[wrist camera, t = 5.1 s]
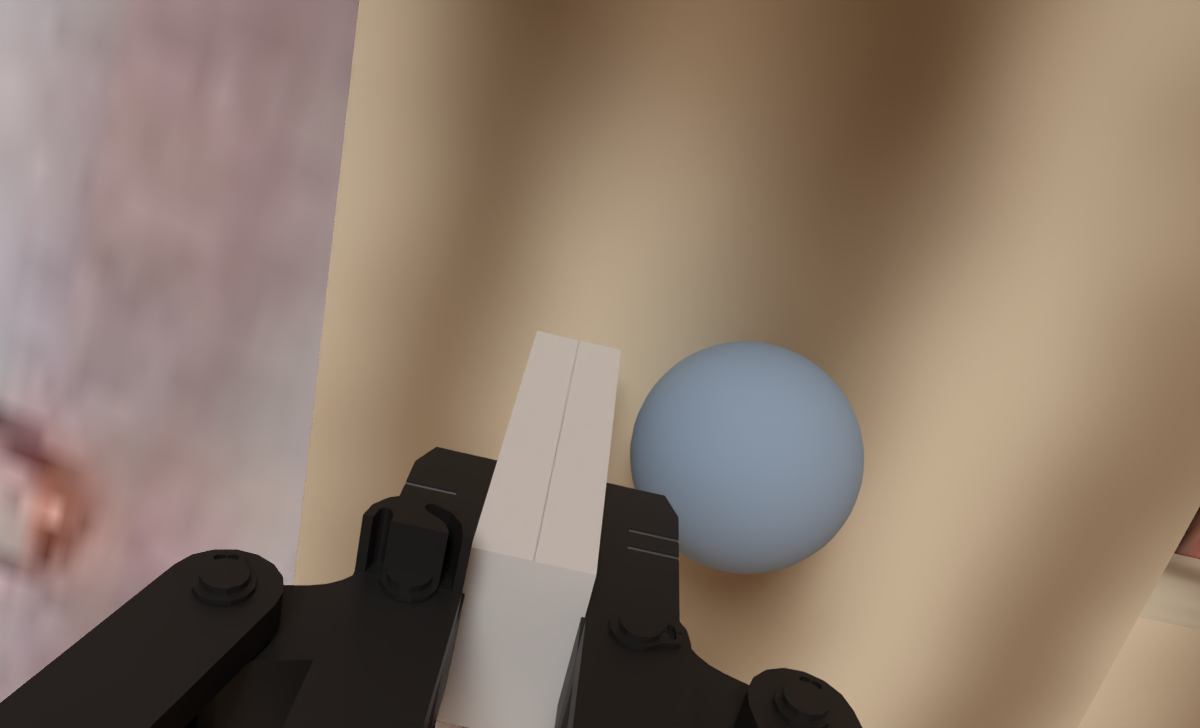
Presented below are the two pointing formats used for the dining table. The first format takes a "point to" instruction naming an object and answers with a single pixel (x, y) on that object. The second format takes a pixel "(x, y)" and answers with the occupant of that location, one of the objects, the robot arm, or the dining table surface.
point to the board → (814, 309)
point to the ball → (749, 455)
